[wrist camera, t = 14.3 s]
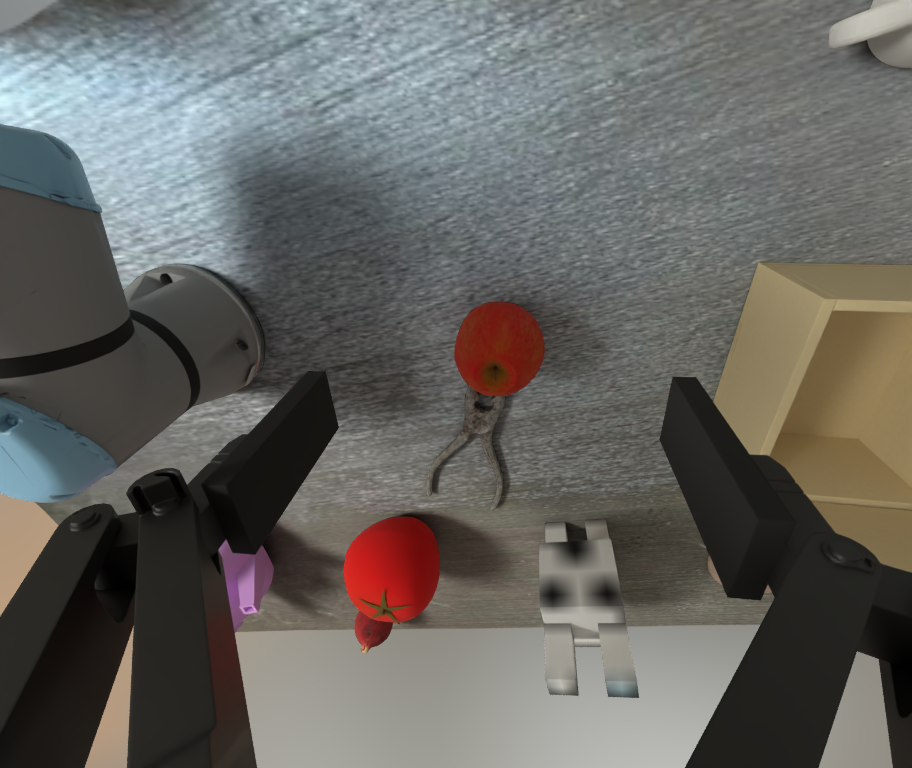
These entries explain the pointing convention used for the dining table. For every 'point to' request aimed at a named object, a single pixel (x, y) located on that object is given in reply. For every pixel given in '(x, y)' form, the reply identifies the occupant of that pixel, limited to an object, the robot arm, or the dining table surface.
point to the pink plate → (716, 577)
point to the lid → (874, 531)
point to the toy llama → (583, 609)
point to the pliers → (480, 424)
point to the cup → (879, 31)
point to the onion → (371, 631)
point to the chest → (827, 379)
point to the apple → (499, 348)
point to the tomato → (393, 569)
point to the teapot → (245, 581)
